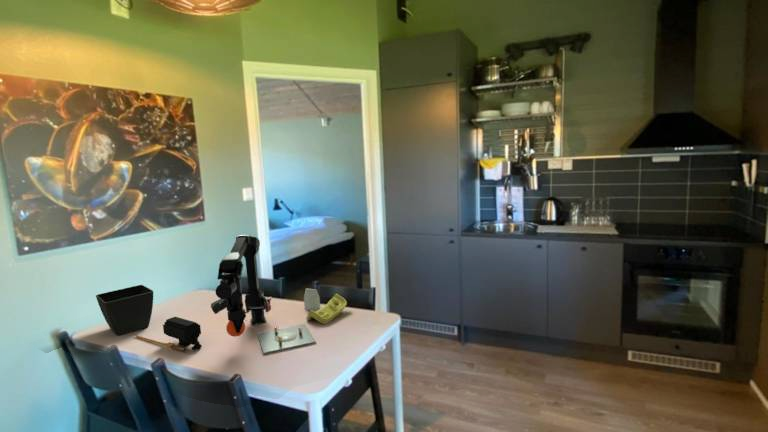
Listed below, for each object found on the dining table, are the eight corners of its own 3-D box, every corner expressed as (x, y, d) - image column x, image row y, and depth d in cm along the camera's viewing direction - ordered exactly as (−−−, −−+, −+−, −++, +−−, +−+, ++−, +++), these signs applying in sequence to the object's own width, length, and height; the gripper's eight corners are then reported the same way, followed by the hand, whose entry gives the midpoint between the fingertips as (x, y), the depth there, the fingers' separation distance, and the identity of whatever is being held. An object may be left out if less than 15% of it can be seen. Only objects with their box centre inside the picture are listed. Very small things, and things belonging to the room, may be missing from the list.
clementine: (247, 330, 165) (245, 313, 164) (250, 336, 159) (248, 318, 158) (226, 334, 161) (224, 317, 160) (228, 341, 155) (226, 323, 154)
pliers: (279, 298, 220) (279, 293, 220) (268, 312, 201) (267, 307, 200) (258, 299, 221) (258, 295, 220) (245, 313, 201) (244, 308, 201)
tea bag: (315, 311, 198) (314, 291, 197) (304, 309, 201) (303, 289, 200) (320, 308, 201) (318, 288, 200) (309, 306, 205) (308, 287, 203)
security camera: (191, 353, 159) (188, 328, 158) (164, 344, 169) (161, 320, 167) (207, 346, 165) (204, 322, 163) (180, 337, 174) (177, 315, 173)
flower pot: (100, 329, 188) (95, 294, 186) (146, 317, 201) (141, 283, 199) (110, 340, 175) (104, 302, 172) (158, 326, 188) (154, 291, 186)
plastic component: (326, 320, 180) (308, 308, 183) (321, 333, 183) (304, 321, 186) (350, 302, 197) (334, 291, 200) (346, 314, 199) (330, 303, 203)
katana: (137, 339, 178) (136, 333, 178) (187, 351, 160) (186, 345, 160) (134, 340, 177) (133, 334, 176) (183, 353, 159) (182, 346, 159)
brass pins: (274, 333, 171) (274, 327, 171) (299, 328, 175) (298, 322, 175) (279, 344, 161) (278, 337, 160) (304, 339, 165) (304, 332, 164)
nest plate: (257, 335, 173) (257, 333, 173) (304, 325, 180) (304, 323, 180) (263, 354, 155) (263, 352, 154) (315, 343, 162) (315, 341, 162)
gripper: (210, 287, 163) (214, 325, 165) (211, 301, 146) (215, 343, 148) (240, 283, 167) (243, 319, 169) (244, 296, 150) (248, 336, 152)
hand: (237, 329), depth 159 cm, fingers closed on clementine, 7 cm apart
